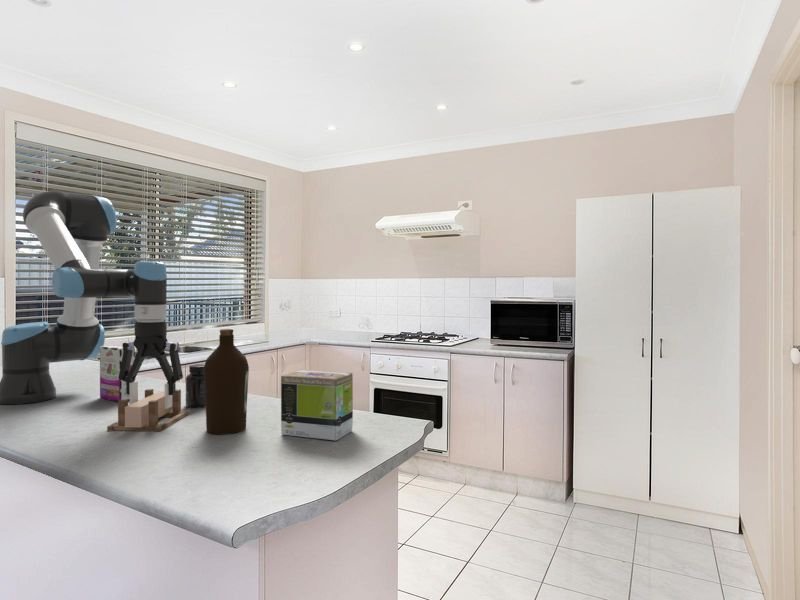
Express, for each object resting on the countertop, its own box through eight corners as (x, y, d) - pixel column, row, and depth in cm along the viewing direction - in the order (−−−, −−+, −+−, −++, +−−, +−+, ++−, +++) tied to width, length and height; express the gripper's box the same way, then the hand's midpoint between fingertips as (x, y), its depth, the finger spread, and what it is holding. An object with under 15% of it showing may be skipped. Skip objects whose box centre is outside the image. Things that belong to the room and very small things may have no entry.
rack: (142, 412, 142) (142, 388, 142) (189, 413, 142) (189, 388, 142) (107, 430, 125) (107, 402, 125) (160, 431, 125) (160, 402, 125)
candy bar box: (136, 399, 158) (135, 347, 157) (120, 402, 154) (120, 348, 153) (114, 395, 163) (114, 344, 163) (99, 398, 159) (98, 346, 159)
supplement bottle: (180, 406, 149) (180, 366, 149) (197, 401, 156) (197, 362, 155) (198, 409, 147) (198, 367, 146) (215, 404, 153) (215, 364, 153)
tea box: (353, 430, 127) (354, 372, 127) (335, 442, 118) (336, 379, 117) (300, 424, 132) (301, 368, 132) (279, 435, 123) (279, 374, 122)
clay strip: (159, 409, 142) (159, 391, 142) (173, 409, 142) (173, 391, 142) (124, 427, 124) (124, 407, 124) (141, 427, 124) (141, 407, 124)
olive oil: (207, 437, 120) (207, 332, 119) (200, 426, 129) (200, 328, 128) (253, 431, 125) (253, 330, 124) (243, 421, 134) (243, 327, 134)
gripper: (101, 321, 129) (102, 410, 130) (185, 322, 129) (185, 411, 129) (118, 319, 136) (118, 403, 137) (197, 320, 136) (197, 404, 137)
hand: (151, 407), depth 133 cm, fingers open, 8 cm apart
